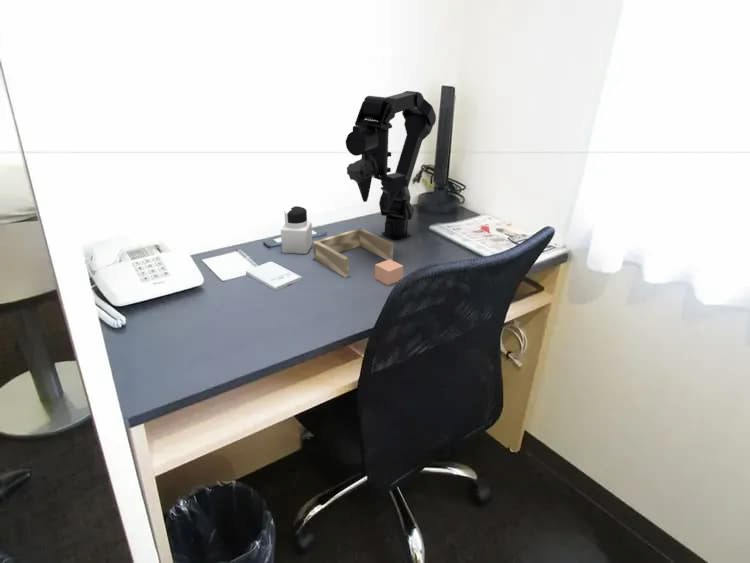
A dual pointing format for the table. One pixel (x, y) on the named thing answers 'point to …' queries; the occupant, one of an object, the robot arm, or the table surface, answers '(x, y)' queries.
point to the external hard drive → (273, 275)
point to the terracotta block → (388, 272)
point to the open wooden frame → (332, 246)
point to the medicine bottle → (296, 231)
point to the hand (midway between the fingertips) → (375, 205)
